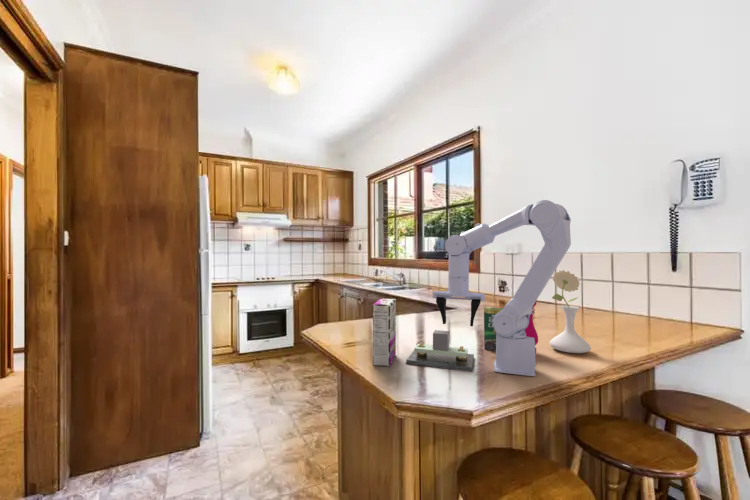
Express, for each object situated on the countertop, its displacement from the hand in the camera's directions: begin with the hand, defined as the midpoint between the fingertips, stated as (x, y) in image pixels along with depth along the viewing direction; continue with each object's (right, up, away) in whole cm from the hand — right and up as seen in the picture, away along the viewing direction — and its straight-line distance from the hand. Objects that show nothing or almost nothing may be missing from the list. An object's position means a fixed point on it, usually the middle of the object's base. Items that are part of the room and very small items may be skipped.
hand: (457, 324), depth 101 cm
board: (-6, -7, -4) cm, 10 cm away
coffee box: (+14, -10, +8) cm, 19 cm away
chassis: (-5, -9, -3) cm, 11 cm away
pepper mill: (+22, -10, +5) cm, 24 cm away
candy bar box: (-21, -9, -4) cm, 24 cm away
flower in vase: (+37, -10, +9) cm, 39 cm away
